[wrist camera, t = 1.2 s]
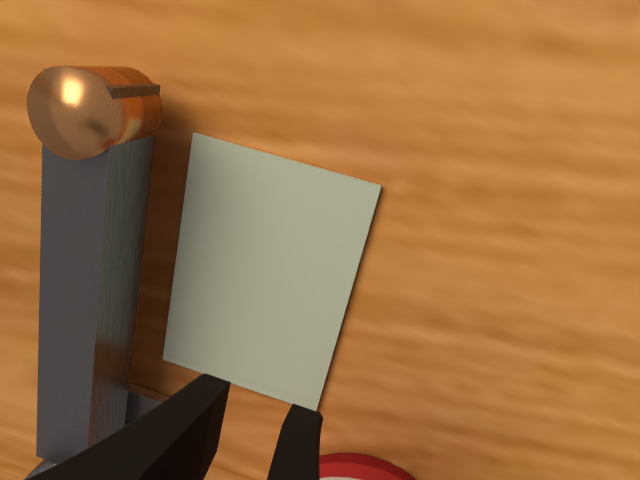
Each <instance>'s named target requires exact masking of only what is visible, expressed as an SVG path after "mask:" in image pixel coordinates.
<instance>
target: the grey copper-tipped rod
mask: <svg viewBox="0 0 640 480" xmlns="http://www.w3.org/2000/svg"><path fill="white" fill-rule="evenodd" d="M159 92H160V85H157V84H154V83H152V82H151V80H150V79H149V78H148V77H147V76H145V75H144V74H143V73H141V72H140V71H138V70H136V69H133V68H130V67H103V66H55V67H51V68H47V69H44V70H43V71H42V72H41V73H39V74H38V75H37V76H36V77H35V79H34V80H33V82H32V84H31V86H30V89H29V92H28V97H27V110H28V116H29V120H30V123H31V125H32V128H33V130H34V132H35V133H36V135H37V137H38V138H39V139H40V141H41V142H42V143H43V148H42V199H41V249H40V300H39V350H38V401H37V452H36V456H38V457H40V458H43V459H44V460H43V461H42V462H41V463H40V464H39V465H38V466H37V467H36V468H35V469H34V470H33V471H32V472H31V473H30V474H29V475H28V476H27V477H26V478H25V479H24V480H26V479H28V478H30V477H32V476H34V475H36V474H39V473H41V472H43V471H45V470H47V469H49V468H51V467H53V466H55V465H57V464H59V463H61V462H63V461H65V460H67V459H69V458H70V457H72V456H74V455H76V454H78V453H80V452H82V451H84V450H85V449H87V448H89V447H91V446H92V445H94V444H96V443H97V442H99V441H101V440H103V439H104V438H106V437H108V436H110V435H111V434H113V433H115V432H117V431H118V430H120V429H122V428H123V427H124V424H125V415H126V405H127V396H128V386H129V377H130V367H131V358H132V349H133V339H134V330H135V320H136V311H137V301H138V292H139V282H140V273H141V263H142V254H143V244H144V235H145V225H146V216H147V206H148V197H149V187H150V178H151V168H152V159H153V149H154V140H155V135H156V133H157V132H158V130H159V128H160V125H161V122H162V117H163V108H162V102H161V98H160V95H159Z"/></svg>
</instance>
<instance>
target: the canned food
mask: <svg viewBox="0 0 640 480" xmlns="http://www.w3.org/2000/svg"><path fill="white" fill-rule="evenodd" d="M319 472H320V480H416V479H415V478H413V477H412V476H411V475H409V474H408V473H407V472H405V471H404V470H403V469H401V468H399V467H397V466H395V465H393V464H391V463H389V462H387V461H384V460H381V459H378V458H375V457H372V456H367V455H362V454H356V453H334V454H328V455H322V456H319Z"/></svg>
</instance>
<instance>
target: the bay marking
mask: <svg viewBox="0 0 640 480" xmlns="http://www.w3.org/2000/svg"><path fill="white" fill-rule="evenodd" d="M381 186H382V185H379V184H376V183H372V182H369V181H365V180H362V179H358V178H355V177H351V176H347V175H344V174H340V173H337V172H333V171H330V170H326V169H323V168H319V167H316V166H312V165H308V164H305V163H301V162H298V161H294V160H291V159H287V158H284V157H280V156H277V155H273V154H270V153H266V152H262V151H259V150H255V149H252V148H248V147H245V146H241V145H238V144H234V143H231V142H227V141H224V140H220V139H216V138H213V137H209V136H206V135H202V134H199V133H193V136H192V143H191V151H190V158H189V166H188V173H187V181H186V188H185V196H184V203H183V211H182V218H181V225H180V233H179V240H178V248H177V255H176V263H175V270H174V278H173V285H172V293H171V300H170V307H169V315H168V322H167V330H166V337H165V345H164V352H163V360H165V361H168V362H171V363H174V364H177V365H180V366H183V367H185V368H188V369H191V370H194V371H197V372H200V373H203V374H205V373H206V374H209V375H212V376H215V377H218V378H220V379H223V380H226V381H229V382H231V383H232V384H235V385H238V386H241V387H244V388H247V389H250V390H253V391H256V392H258V393H261V394H264V395H267V396H270V397H273V398H276V399H279V400H282V401H285V402H288V403H291V404H293V403H294V404H296V405H299V406H302V407H305V408H308V409H311V410H314V411H316V410H317V407H318V404H319V400H320V397H321V393H322V390H323V386H324V383H325V379H326V376H327V373H328V369H329V366H330V362H331V359H332V355H333V352H334V348H335V345H336V341H337V338H338V335H339V331H340V328H341V324H342V321H343V317H344V314H345V310H346V307H347V303H348V300H349V297H350V293H351V290H352V286H353V283H354V279H355V276H356V272H357V269H358V265H359V262H360V259H361V255H362V252H363V248H364V245H365V241H366V238H367V234H368V231H369V227H370V224H371V221H372V217H373V214H374V210H375V207H376V203H377V200H378V196H379V193H380V189H381Z"/></svg>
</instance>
